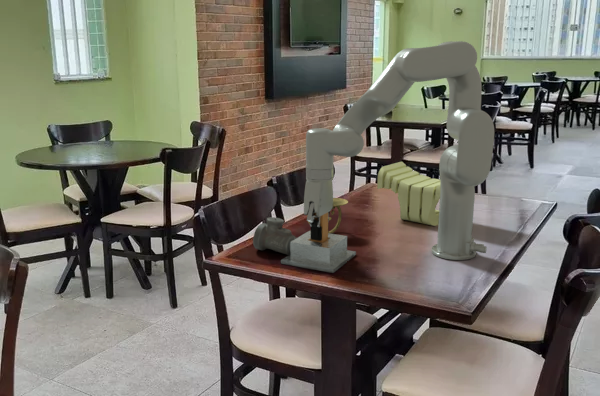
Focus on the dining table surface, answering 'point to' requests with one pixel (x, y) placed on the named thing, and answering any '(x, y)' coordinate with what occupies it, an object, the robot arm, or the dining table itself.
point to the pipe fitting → (273, 236)
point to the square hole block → (319, 253)
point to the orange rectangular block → (323, 227)
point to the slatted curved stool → (412, 192)
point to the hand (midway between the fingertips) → (319, 237)
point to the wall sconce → (337, 203)
